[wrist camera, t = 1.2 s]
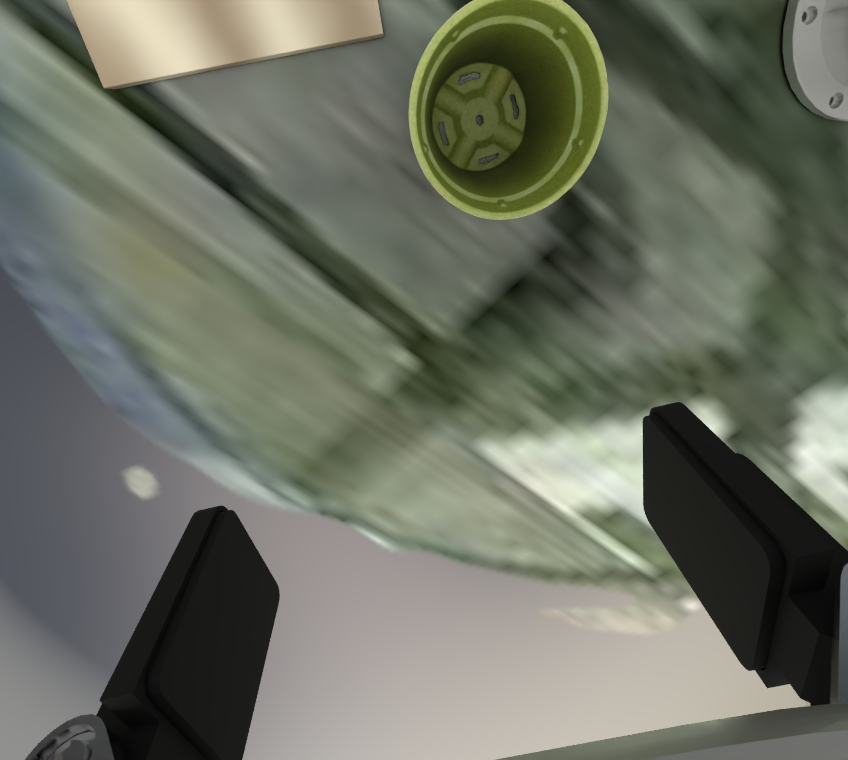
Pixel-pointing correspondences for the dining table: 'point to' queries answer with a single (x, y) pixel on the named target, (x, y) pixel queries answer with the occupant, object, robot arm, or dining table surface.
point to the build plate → (212, 33)
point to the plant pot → (508, 106)
